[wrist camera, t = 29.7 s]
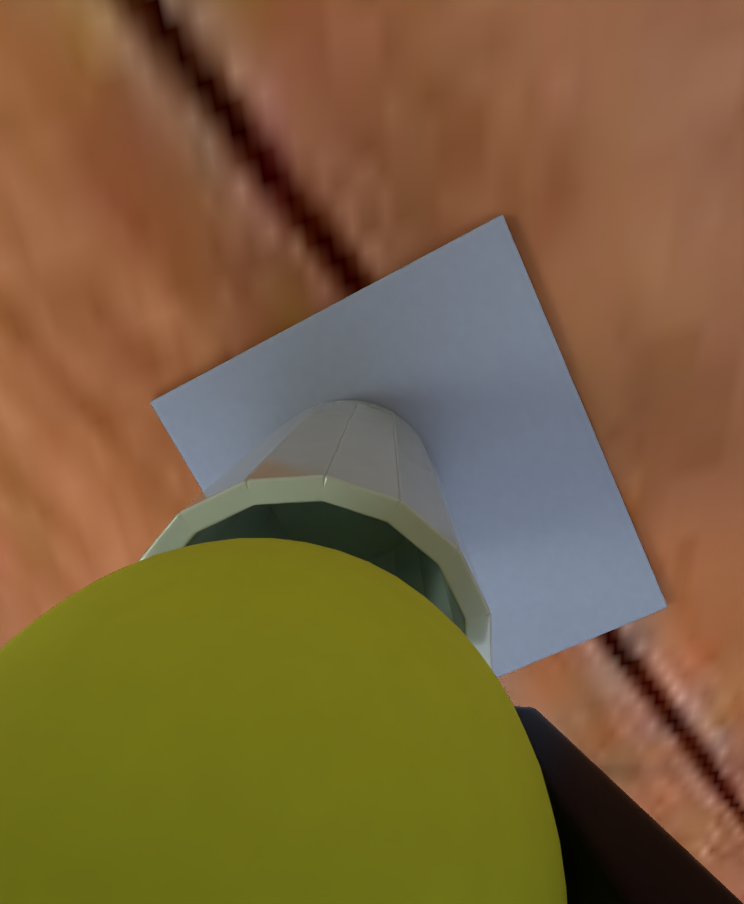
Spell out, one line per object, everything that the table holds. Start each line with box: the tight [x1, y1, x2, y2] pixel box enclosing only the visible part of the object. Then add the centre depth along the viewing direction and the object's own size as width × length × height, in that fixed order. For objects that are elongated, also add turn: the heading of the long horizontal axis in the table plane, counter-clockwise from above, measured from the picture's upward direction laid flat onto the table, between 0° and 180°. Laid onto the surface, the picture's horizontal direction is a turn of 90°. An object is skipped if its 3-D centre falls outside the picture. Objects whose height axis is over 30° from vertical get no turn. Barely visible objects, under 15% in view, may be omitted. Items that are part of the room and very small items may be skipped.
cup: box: [138, 400, 492, 669], centre depth 14 cm, size 6×6×10 cm
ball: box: [0, 538, 567, 904], centre depth 6 cm, size 7×7×7 cm
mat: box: [150, 215, 667, 677], centre depth 19 cm, size 16×14×1 cm
